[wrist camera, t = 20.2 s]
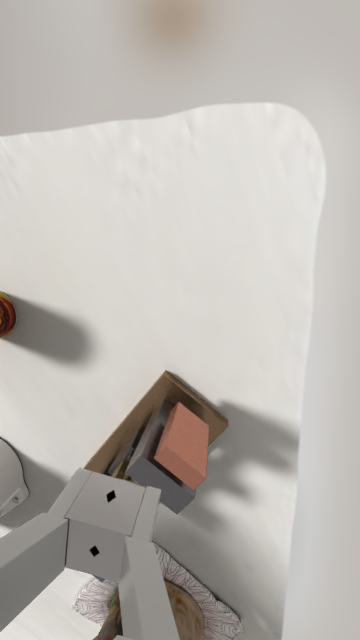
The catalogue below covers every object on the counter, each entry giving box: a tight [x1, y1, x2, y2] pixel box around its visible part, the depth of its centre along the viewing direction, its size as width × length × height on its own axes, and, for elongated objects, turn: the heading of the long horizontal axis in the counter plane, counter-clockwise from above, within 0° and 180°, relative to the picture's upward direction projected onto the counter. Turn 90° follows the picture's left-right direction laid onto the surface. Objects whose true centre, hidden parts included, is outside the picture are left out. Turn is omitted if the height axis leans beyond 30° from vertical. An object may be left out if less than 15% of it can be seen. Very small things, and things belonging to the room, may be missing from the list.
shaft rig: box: [84, 370, 228, 582], centre depth 32 cm, size 23×12×12 cm, turn 142°
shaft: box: [129, 402, 209, 490], centre depth 29 cm, size 19×5×8 cm, turn 142°
